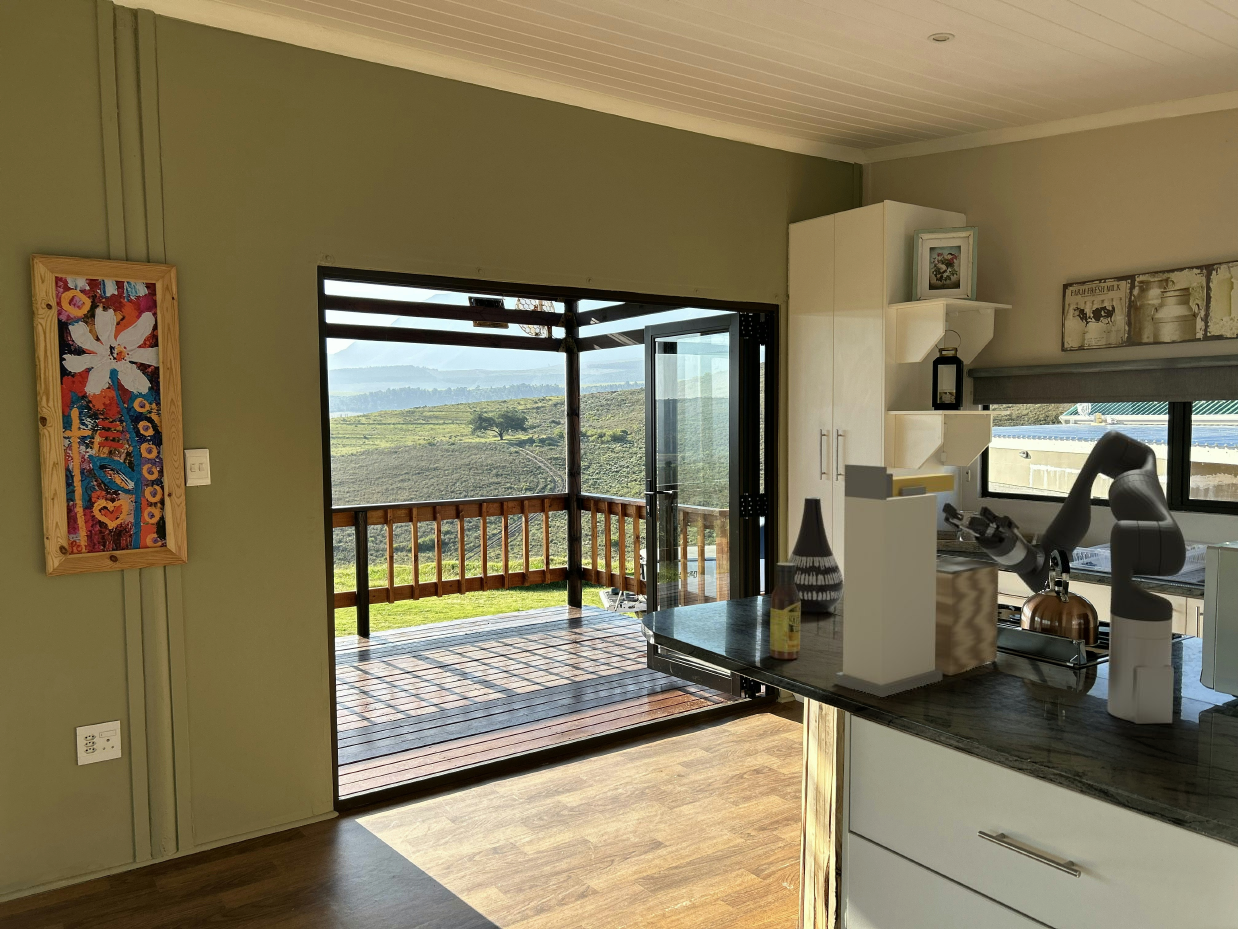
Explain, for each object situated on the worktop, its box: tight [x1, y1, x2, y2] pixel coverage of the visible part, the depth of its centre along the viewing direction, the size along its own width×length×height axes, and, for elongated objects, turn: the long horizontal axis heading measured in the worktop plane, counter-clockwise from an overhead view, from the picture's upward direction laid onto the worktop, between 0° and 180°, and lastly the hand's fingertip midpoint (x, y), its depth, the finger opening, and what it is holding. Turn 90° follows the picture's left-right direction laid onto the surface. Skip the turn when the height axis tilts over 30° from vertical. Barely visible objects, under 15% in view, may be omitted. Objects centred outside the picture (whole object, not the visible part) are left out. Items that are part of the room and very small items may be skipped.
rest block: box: [935, 557, 1000, 676], centre depth 189 cm, size 16×9×21 cm, turn 126°
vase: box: [786, 496, 844, 615], centre depth 237 cm, size 16×16×30 cm
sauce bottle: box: [769, 562, 801, 660], centre depth 195 cm, size 6×6×20 cm
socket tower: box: [834, 463, 943, 698], centre depth 176 cm, size 18×11×42 cm, turn 126°
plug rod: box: [886, 472, 955, 498], centre depth 178 cm, size 24×4×4 cm, turn 126°
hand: (963, 508), depth 189 cm, fingers open, 8 cm apart
